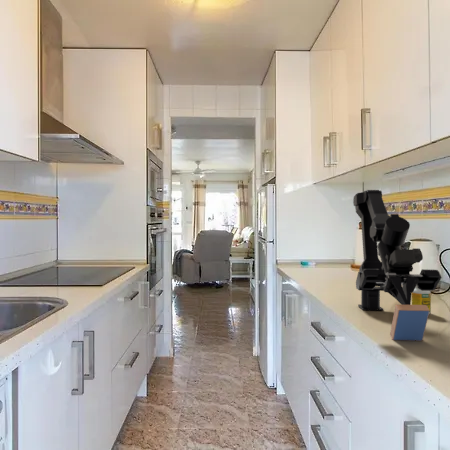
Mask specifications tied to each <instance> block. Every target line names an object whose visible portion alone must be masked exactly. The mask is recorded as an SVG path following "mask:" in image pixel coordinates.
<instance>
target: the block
mask: <svg viewBox="0 0 450 450" xmlns="http://www.w3.org/2000/svg"><path fill="white" fill-rule="evenodd" d="M429 311H430V310H429V308H428V307H427V305H412V304H410V305H401V304H395V306H394V311H393V317H392V322H391V327H390V328H391V329H390V332H389V335H390V337H391V340H393V341H415V340H416V341H419V342H420V341H421V342H422V341H423V340H424V337H425V336H424V335H425V331H426V328H427V323H428V320H429V315H430V314H429Z"/></svg>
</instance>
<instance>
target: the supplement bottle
mask: <svg viewBox="0 0 450 450" xmlns="http://www.w3.org/2000/svg"><path fill="white" fill-rule="evenodd" d="M431 302H432V292H431V291H422V290H420V289H419V288H418V287H417V285H416V287H415V289H414V291H413V292H412V293H411V305H427V307H428V308H429V310H430V311H429V315H430V314H431V308H432V307H431V305H432V304H431Z"/></svg>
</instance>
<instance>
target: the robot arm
mask: <svg viewBox="0 0 450 450" xmlns="http://www.w3.org/2000/svg"><path fill="white" fill-rule="evenodd" d="M352 203H353V206H354V208H355V213H356V214H357V215H358V217H359V218H360V222H361V223H360V224H361V225H360V226H361V235H362V236H361V237H362V240H361V241H362V251H363V252H362V253H363V255H362V256H363V261H362V263H361V264H360V267H359V268H358V269H359V270H358V273H357V277H356V281H355V289H356V290H357V291H361V296H360V299H361V300H360V302H361V304H357V307H359V308H360V309H361V310H363V311H384V308H383V307H382V306H381V299H380V298H381V291H382V292H384V293H387V294H389V295H390V296H391V297H393V298H394V299H395V300H396V301H397V302H398V303H399V305H412V292H413V291H414V289H415V287H416V285H417V287H418V288H419V289H420V290H422V291H435V290H436V289H437V287H438V285H439V283H440V281H441V279H442V278H443V277H442V275H441V272H440V271H439V270H438V269H428V268H427V269H421V270H420V272H419V274H417V273H416V274H415V273H414V274H413V273H411V272H413V270H414V268H413V265H414V264H416V263H421V261H423V259H424V257H423V252H422V251H421V249H420V248H412V249H408V248H407V249H402V246H403V245H404V244H405V241H406V239H407V236H408V232H409V229H410V225H411V224H410V222H409V221H408V220H407V219H406V218H403V217H401V216H400V215H399V214H398V213H390V215H389V213H388V211H387V207H386V205H385V202H384V200H383V192H382V190H380V189H366V190H363V191H362V192H357V193H356V194H355V195H354V196H353V200H352ZM379 258H380V259H379Z"/></svg>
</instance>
